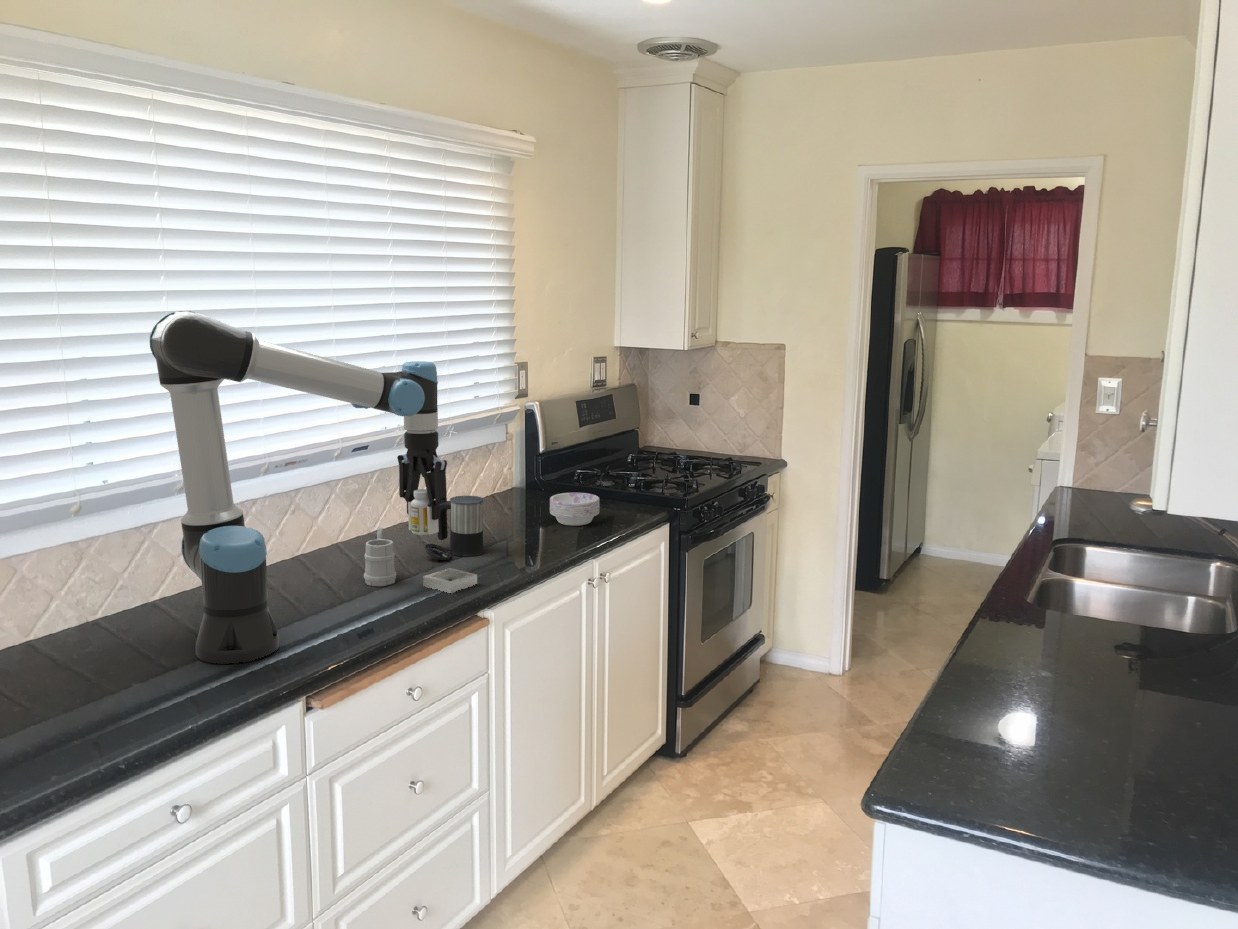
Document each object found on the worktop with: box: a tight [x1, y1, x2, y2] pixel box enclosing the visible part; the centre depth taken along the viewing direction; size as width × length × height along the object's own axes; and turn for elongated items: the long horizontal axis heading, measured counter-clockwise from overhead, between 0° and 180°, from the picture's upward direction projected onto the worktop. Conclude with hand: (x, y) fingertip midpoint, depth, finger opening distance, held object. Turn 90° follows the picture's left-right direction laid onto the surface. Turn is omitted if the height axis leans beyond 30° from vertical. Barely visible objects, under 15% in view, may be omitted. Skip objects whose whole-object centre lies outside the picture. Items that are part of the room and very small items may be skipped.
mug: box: [363, 526, 397, 587], centre depth 232 cm, size 8×12×12 cm, turn 13°
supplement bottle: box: [411, 488, 430, 536], centre depth 219 cm, size 5×5×10 cm
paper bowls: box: [549, 492, 601, 527], centre depth 294 cm, size 15×15×8 cm
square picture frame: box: [422, 567, 478, 594], centre depth 230 cm, size 9×9×2 cm
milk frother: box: [424, 495, 486, 561], centre depth 254 cm, size 14×16×15 cm
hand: (423, 530), depth 220 cm, fingers closed on supplement bottle, 5 cm apart
